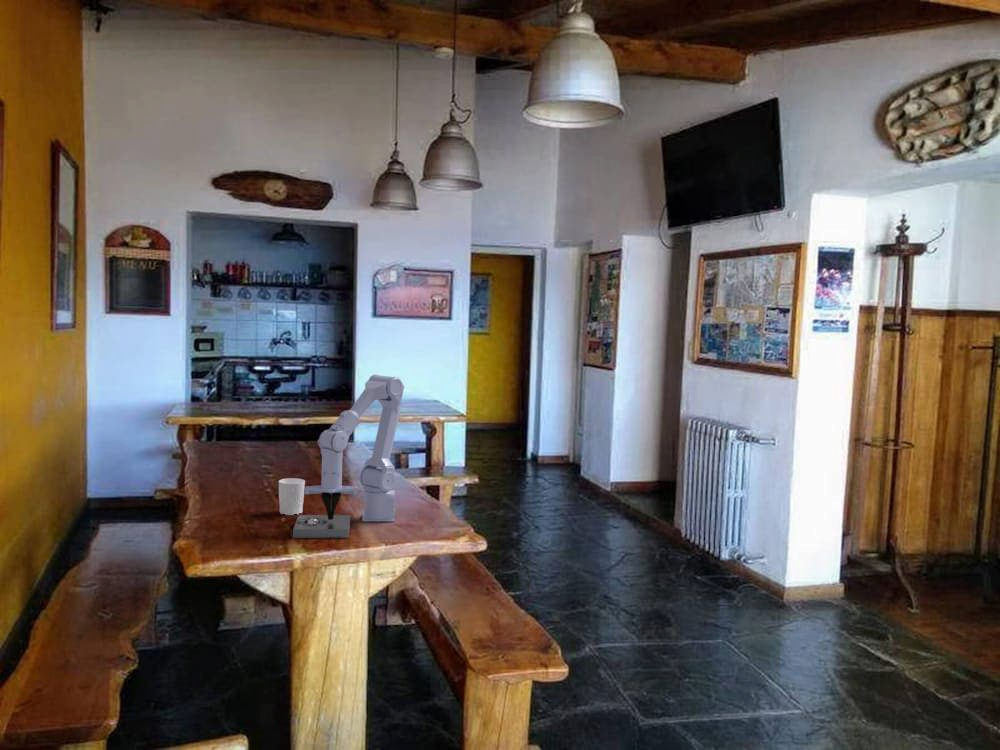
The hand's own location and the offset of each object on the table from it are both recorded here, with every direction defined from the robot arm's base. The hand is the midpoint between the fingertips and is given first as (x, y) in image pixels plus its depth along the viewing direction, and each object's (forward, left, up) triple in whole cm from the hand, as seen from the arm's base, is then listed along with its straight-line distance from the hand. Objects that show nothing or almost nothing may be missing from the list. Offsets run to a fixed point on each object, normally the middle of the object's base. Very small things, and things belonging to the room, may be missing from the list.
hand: (330, 518), depth 215 cm
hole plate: (+2, 0, -3) cm, 4 cm away
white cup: (+13, -20, -4) cm, 24 cm away
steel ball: (+5, 0, -2) cm, 5 cm away
